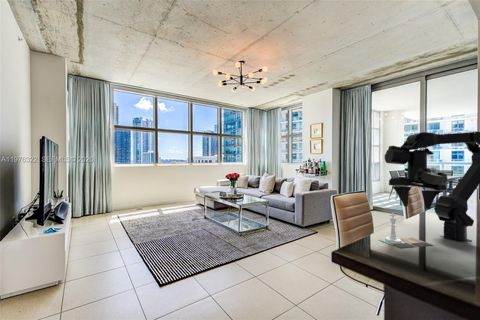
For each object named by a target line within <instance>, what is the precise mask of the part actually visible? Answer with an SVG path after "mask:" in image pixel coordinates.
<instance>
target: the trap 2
mask: <svg viewBox="0 0 480 320" xmlns="http://www.w3.org/2000/svg"><path fill="white" fill-rule="evenodd" d="M426 242H427V241H424V242H421V243H411V244H412V245H415V246H418V247H417V248H423V247H422V246H427V247H434V246H433V245H434V244H433V243H430V242H427V243H426ZM429 243H430V244H429ZM432 244H433V245H432Z"/></svg>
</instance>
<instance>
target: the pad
mask: <svg viewBox="0 0 480 320" xmlns="http://www.w3.org/2000/svg"><path fill="white" fill-rule="evenodd" d="M379 240H380V241H379V242H381V241H382V242H381V243H383V242H385V243H384V244H386V243H387V244H386V245H388V244H390V245H389V246H391V245H395V243H390V242H387V241H385V238H384V239H379ZM401 244H407V243H405V242H403V241H402V243H401Z"/></svg>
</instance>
